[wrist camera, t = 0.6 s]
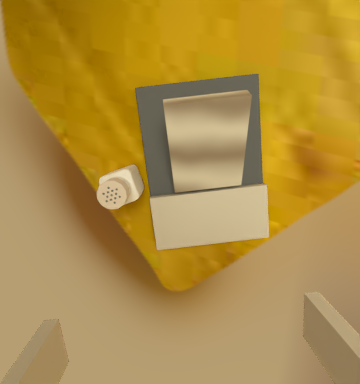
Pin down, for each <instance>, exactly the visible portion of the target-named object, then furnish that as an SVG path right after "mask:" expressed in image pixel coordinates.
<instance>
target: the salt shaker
mask: <svg viewBox="0 0 360 384" xmlns="http://www.w3.org/2000/svg"><path fill="white" fill-rule="evenodd" d="M99 184H100V185H99V188H98V190H97V199H98V201H99V203H100V204H101V205H102V206H103V207H105V208H107V209H109V210H111V209H118V208H120V207H121V206H123V205H125V204H127V203H130V202H133V201H136V200H137V199H138V198H139V197H140V195H141V194H142V192H143V190H144V184H143V181H142V179H141V176H140V173H139V171H138V168H137V167H136V165H129V166H126V167H123V168H120V169H117V170H115V171H112V172H110V173H108V174H106V175H104V176H102V177H101V178H100V179H99Z"/></svg>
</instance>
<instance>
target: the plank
mask: <svg viewBox="0 0 360 384" xmlns="http://www.w3.org/2000/svg"><path fill="white" fill-rule="evenodd" d="M251 99H252V95H251V94H250V92H249V91H248V90H241V91H233V92H224V93H215V94H207V95H198V96H189V97H180V98H172V99H163V106H164V113H165V121H166V129H167V136H168V144H169V151H170V159H171V167H172V174H173V182H174V189H175V193H178V192H186V191H195V190H203V189H212V188H221V187H229V186H238V185H241V183H242V175H243V167H244V158H245V150H246V141H247V133H248V124H249V116H250V107H251Z"/></svg>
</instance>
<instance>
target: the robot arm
mask: <svg viewBox="0 0 360 384" xmlns="http://www.w3.org/2000/svg"><path fill="white" fill-rule="evenodd" d="M303 327H304V328H303V337H304V338H305V340H306V341H307V342H308V344H309V346H310V347H311V349H312V350H313V352H314V353H315V355H316V356H317V358H318V360H319V361H320V362H321V364H322V366H323V367H324V368H325V370H326V371H327V373H328V375H329V376H330V378H331V379H332V381H333V382H334V384H360V335H359V334H358V333H357V332H356V331H355V330H354V329H353V328H352V327H351V326H350V324H349V323H348V322H347V321H346V320H345V319H344V318H343V317H342V316H341V315H340V314H339V313H338V312H337V311H336V310H335V309H334V308H333V307H332V306H331V305H330V303H328V301H327V300H326V299H325V298H324V297H323V296H322V295H321V294H320V293H319V292H311V293H304V325H303ZM68 362H69V360H68V356H67V352H66V348H65V343H64V340H63V335H62V331H61V327H60V323H59V319H54V320H45V321H43V323H42V324H41V326H40V327H39V329H38V330H37V331H36V333H35V334H34V336H33V337H32V338H31V340H30V341H29V343H28V344H27V345H26V347H25V348H24V350H23V351H22V353H21V354H20V356H19V357H18V358H17V360H16V361H15V363H14V364H13V365H12V367H11V368H10V370H9V371H8V373H7V374H6V375H5V377H4V378H3V380H2V381H1V383H0V384H59V382H60V379H61V377H62V375H63V373H64V371H65V369H66V366H67V364H68Z"/></svg>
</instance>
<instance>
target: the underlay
mask: <svg viewBox="0 0 360 384" xmlns="http://www.w3.org/2000/svg"><path fill="white" fill-rule="evenodd" d="M135 90H136V97H137V104H138V111H139V118H140V125H141V132H142V139H143V146H144V153H145V160H146V167H147V174H148V181H149V188H150V195H151V196H150V205H151V212H152V219H153V226H154V233H155V240H156V247H157V250H165V249H173V248H181V247H190V246H198V245H207V244H215V243H224V242H232V241H241V240H249V239H258V238H266V237H269V225H268V198H267V185H266V184H264V183H263V178H262V154H261V129H260V104H259V79H258V74H252V75H243V76H234V77H226V78H217V79H208V80H199V81H191V82H182V83H173V84H164V85H156V86H147V87H138V88H135ZM241 90H248V91H249V92H250V94H251V95H252V99H251V107H250V116H249V124H248V133H247V141H246V150H245V158H244V167H243V175H242V183H241V185H238V186H229V187H221V188H212V189H203V190H195V191H186V192H178V193H175V189H174V182H173V174H172V167H171V159H170V151H169V144H168V136H167V129H166V121H165V113H164V106H163V99H172V98H180V97H189V96H198V95H207V94H215V93H224V92H233V91H241Z"/></svg>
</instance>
